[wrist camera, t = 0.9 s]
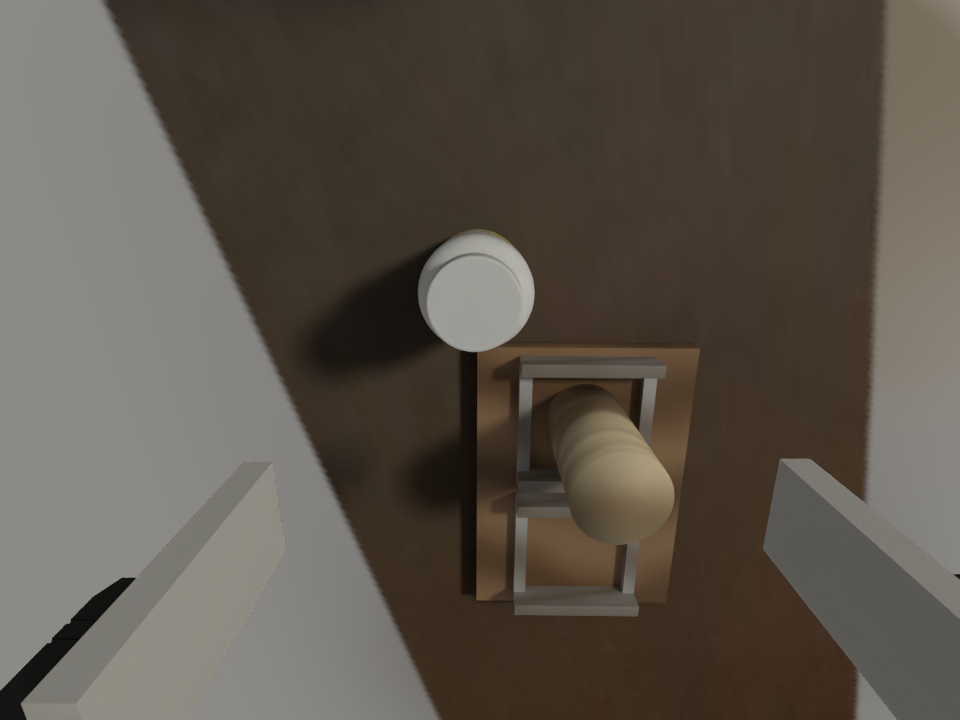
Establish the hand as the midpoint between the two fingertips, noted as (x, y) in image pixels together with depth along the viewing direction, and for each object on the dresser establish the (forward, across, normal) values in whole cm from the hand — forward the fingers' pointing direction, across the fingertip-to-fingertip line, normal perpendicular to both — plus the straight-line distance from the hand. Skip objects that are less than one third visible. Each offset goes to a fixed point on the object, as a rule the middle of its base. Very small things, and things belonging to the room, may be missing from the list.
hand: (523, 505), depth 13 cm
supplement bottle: (+18, -2, +3) cm, 19 cm away
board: (+18, +5, -10) cm, 21 cm away
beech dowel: (+17, +5, -5) cm, 18 cm away
